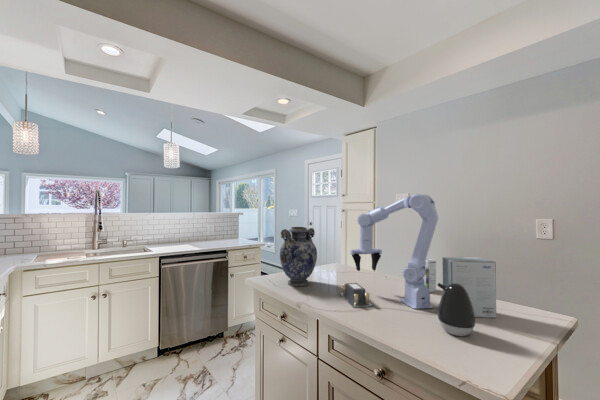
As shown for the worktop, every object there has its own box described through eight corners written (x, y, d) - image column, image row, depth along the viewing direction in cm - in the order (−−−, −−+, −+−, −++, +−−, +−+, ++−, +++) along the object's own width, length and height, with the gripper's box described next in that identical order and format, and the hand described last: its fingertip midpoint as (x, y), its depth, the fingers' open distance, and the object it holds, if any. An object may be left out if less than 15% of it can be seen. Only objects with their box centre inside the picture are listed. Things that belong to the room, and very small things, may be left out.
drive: (365, 301, 109) (365, 289, 109) (353, 302, 108) (353, 289, 108) (356, 294, 117) (356, 282, 117) (345, 295, 116) (345, 283, 116)
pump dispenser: (441, 321, 92) (441, 277, 92) (477, 331, 86) (477, 283, 86) (433, 332, 84) (433, 283, 84) (472, 344, 78) (472, 291, 78)
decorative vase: (302, 275, 149) (303, 224, 149) (326, 283, 135) (327, 227, 135) (269, 282, 136) (270, 227, 135) (292, 293, 121) (293, 230, 121)
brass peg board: (373, 306, 105) (373, 294, 105) (353, 308, 104) (353, 296, 104) (356, 293, 121) (356, 282, 121) (339, 294, 119) (339, 283, 119)
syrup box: (417, 289, 127) (417, 258, 127) (426, 287, 130) (426, 257, 130) (427, 293, 122) (427, 260, 122) (436, 291, 124) (436, 259, 125)
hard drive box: (484, 310, 103) (484, 257, 103) (497, 318, 95) (497, 261, 95) (441, 308, 104) (442, 256, 105) (451, 316, 97) (451, 260, 97)
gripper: (376, 238, 129) (376, 267, 128) (347, 239, 126) (347, 268, 125) (384, 240, 122) (384, 270, 121) (353, 241, 119) (353, 272, 119)
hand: (366, 270), depth 123 cm, fingers open, 7 cm apart
